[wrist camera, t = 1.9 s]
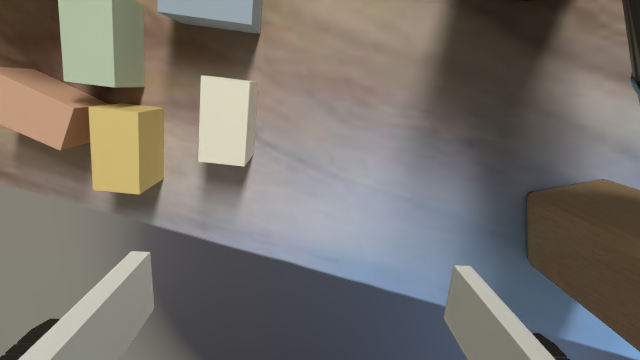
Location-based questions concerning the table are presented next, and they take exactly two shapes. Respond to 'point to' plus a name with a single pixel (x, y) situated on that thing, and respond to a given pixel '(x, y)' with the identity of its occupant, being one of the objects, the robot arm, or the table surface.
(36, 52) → the table surface
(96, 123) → the ochre brick
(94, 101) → the terracotta brick
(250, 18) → the slate brick
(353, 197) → the table surface
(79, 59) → the sage brick
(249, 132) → the cream brick
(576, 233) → the wooden block
